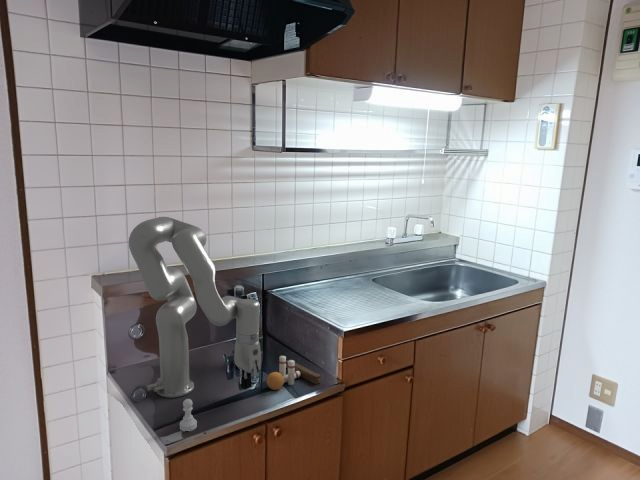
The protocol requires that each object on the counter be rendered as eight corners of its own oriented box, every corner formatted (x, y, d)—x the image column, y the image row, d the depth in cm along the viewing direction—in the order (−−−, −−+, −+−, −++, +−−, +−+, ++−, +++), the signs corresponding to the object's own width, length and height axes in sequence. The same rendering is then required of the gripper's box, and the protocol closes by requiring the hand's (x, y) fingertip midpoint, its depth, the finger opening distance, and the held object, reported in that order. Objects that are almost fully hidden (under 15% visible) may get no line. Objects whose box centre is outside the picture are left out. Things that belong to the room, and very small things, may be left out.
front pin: (282, 378, 175) (301, 372, 181) (278, 376, 177) (296, 369, 182) (282, 385, 176) (300, 378, 181) (278, 382, 177) (296, 375, 183)
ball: (289, 384, 172) (276, 396, 171) (282, 373, 176) (269, 384, 176) (281, 376, 168) (267, 388, 167) (274, 365, 173) (260, 377, 172)
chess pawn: (190, 421, 151) (189, 393, 149) (200, 427, 147) (199, 399, 146) (176, 427, 147) (175, 399, 145) (186, 433, 144) (185, 405, 142)
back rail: (316, 384, 176) (316, 376, 176) (285, 368, 189) (285, 361, 189) (320, 383, 177) (320, 375, 177) (289, 366, 191) (289, 359, 190)
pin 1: (281, 381, 178) (282, 359, 177) (277, 378, 180) (277, 356, 179) (287, 379, 180) (287, 357, 179) (283, 376, 182) (283, 355, 180)
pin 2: (290, 386, 175) (290, 363, 173) (286, 383, 177) (286, 361, 175) (295, 383, 176) (296, 361, 175) (291, 381, 178) (291, 359, 177)
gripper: (269, 341, 161) (267, 393, 164) (244, 327, 172) (243, 376, 175) (250, 346, 156) (249, 399, 159) (225, 332, 167) (224, 382, 170)
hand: (246, 387), depth 167 cm, fingers closed
